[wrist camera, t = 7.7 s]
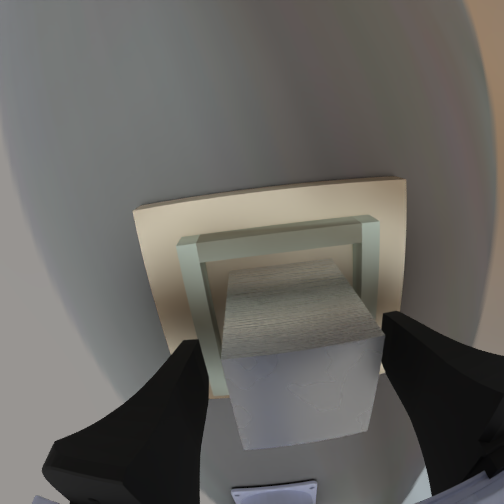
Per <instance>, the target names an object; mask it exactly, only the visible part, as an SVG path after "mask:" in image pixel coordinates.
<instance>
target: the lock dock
mask: <svg viewBox="0 0 504 504" xmlns="http://www.w3.org/2000/svg"><path fill="white" fill-rule="evenodd" d="M133 215H134V220H135V225H136V229H137V234H138V238H139V243H140V247H141V251H142V255H143V259H144V264H145V268H146V271H147V275H148V279H149V283H150V287H151V290H152V294H153V298H154V301H155V305H156V308H157V311H158V315H159V318H160V322H161V325H162V328H163V331H164V335H165V338H166V341H167V344H168V347H169V350H170V353H171V354H172V353H173V352H174V351H175V349H176V348H177V347H178V346H179V345H180V343H181V342H182V341H183V340H191V339H199V342H200V346H201V350H202V354H203V357H204V361H205V365H206V368H207V372H208V375H209V399H218V398H230V396H229V392H228V388H227V384H226V380H225V375H224V371H223V367H222V363H221V352H222V341H223V330H224V319H225V309H226V299H227V289H228V279H229V271H232V270H241V269H249V268H257V267H266V266H274V265H282V264H290V263H298V262H306V261H314V260H322V259H329V258H331V259H332V260H333V261H334V263H335V264H336V265H337V267H338V268H339V270H340V271H341V272H342V274H343V275H344V276H345V278H346V279H347V281H348V282H349V283H350V285H351V286H352V288H353V289H354V291H355V292H356V293H357V295H358V296H359V298H360V299H361V301H362V302H363V303H364V305H365V306H366V308H367V309H368V311H369V312H370V314H371V315H372V317H373V318H374V319H375V321H376V322H377V324H378V325H379V327H380V328H381V326H382V317H383V313H387V312H391V311H399V312H400V306H401V297H402V287H403V276H404V262H405V244H406V179H403V178H399V177H395V176H388V177H371V178H356V179H343V180H330V181H319V182H308V183H298V184H288V185H279V186H270V187H261V188H253V189H245V190H237V191H230V192H222V193H215V194H208V195H201V196H195V197H188V198H182V199H176V200H170V201H164V202H158V203H152V204H146V205H141V206H139V207H138V208H136V209H135V210H133ZM382 373H385V370H384V368H383V365H382V362H381V366H380V372H379V374H382Z"/></svg>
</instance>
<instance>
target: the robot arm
mask: <svg viewBox="0 0 504 504" xmlns="http://www.w3.org/2000/svg"><path fill="white" fill-rule="evenodd" d="M381 330H382V331H383V333H384V334H385V340H384V347H383V354H382V360H381V362H382V365H383V368H384V370H385V373H386V375H387V376H388V378H389V380H390V382H391V384H392V386H393V387H394V389H395V391H396V393H397V395H398V396H399V398H400V400H401V402H402V404H403V405H404V407H405V409H406V411H407V413H408V415H409V417H410V419H411V422H412V424H413V427H414V430H415V432H416V435H417V438H418V441H419V444H420V447H421V450H422V454H423V457H424V461H425V465H426V469H427V473H428V477H429V482H430V488H431V494H432V497H430V498H428V499H425V500H423V501H420V502H418V503H415V504H504V356H501V355H497V354H492V353H488V352H485V351H482V350H478V349H475V348H473V347H470V346H467V345H464V344H462V343H459V342H457V341H455V340H453V339H450V338H448V337H446V336H444V335H442V334H440V333H438V332H436V331H434V330H432V329H430V328H429V327H427V326H425V325H423V324H421V323H419V322H418V321H416V320H414V319H412V318H410V317H409V316H407V315H405V314H403V313H401V312H399V311H391V312H387V313H383V317H382V326H381ZM208 400H209V375H208V372H207V368H206V365H205V361H204V357H203V354H202V350H201V346H200V342H199V339H191V340H183V341H182V342H181V343H180V345H179V346H178V347H177V348H176V349H175V351H174V352H173V353H172V354H171V356H170V357H169V358H168V359H167V361H166V362H165V363H164V364H163V365H162V367H161V368H160V369H159V370H158V371H157V372H156V374H155V375H154V376H153V377H152V378H151V379H150V380H149V381H148V382H147V383H146V384H145V385H144V386H143V387H142V388H141V389H140V390H139V391H138V392H137V393H136V394H135V395H134V396H132V397H131V398H130V399H129V400H128V401H126V402H125V403H124V404H123V405H121V406H120V407H119V408H117V409H116V410H114V411H113V412H111V413H110V414H108V415H107V416H106V417H104V418H103V419H101V420H99V421H97V422H96V423H94V424H92V425H91V426H89V427H87V428H85V429H83V430H81V431H79V432H76V433H74V434H72V435H69V436H67V437H65V438H62V439H60V440H57V441H55V442H54V444H53V446H52V448H51V450H50V452H49V455H48V457H47V459H46V461H45V463H44V465H43V468H42V473H43V475H44V477H45V478H46V480H47V481H48V482H49V483H50V484H51V485H52V486H53V487H54V488H55V489H56V490H58V491H59V492H60V493H61V494H62V495H63V496H64V497H66V498H67V499H68V500H69V501H70V504H200V496H199V493H200V452H201V443H202V437H203V431H204V425H205V419H206V413H207V407H208ZM316 493H317V481H307V482H301V483H294V484H286V485H278V486H268V487H256V488H238V489H232V490H231V494H232V497H233V499H234V501H235V503H236V504H315V502H316ZM32 504H59V503H57V502H54V501H51V500H48V499H46V498H43V497H40V496H35V497H34V500H33V502H32Z"/></svg>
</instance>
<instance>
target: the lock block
mask: <svg viewBox="0 0 504 504" xmlns="http://www.w3.org/2000/svg"><path fill="white" fill-rule="evenodd" d="M384 340H385V334H384V333H383V331H382V330H381V328H380V327H379V325H378V324H377V322H376V321H375V319H374V318H373V317H372V315H371V314H370V312H369V311H368V309H367V308H366V306H365V305H364V303H363V302H362V301H361V299H360V298H359V296H358V295H357V293H356V292H355V291H354V289H353V288H352V286H351V285H350V283H349V282H348V281H347V279H346V278H345V276H344V275H343V274H342V272H341V271H340V270H339V268H338V267H337V265H336V264H335V263H334V261H333V260H332V259H331V258H329V259H322V260H314V261H306V262H298V263H290V264H282V265H274V266H266V267H257V268H249V269H241V270H232V271H229V279H228V289H227V299H226V309H225V319H224V330H223V341H222V352H221V363H222V367H223V371H224V375H225V380H226V384H227V388H228V392H229V396H230V400H231V404H232V408H233V412H234V415H235V419H236V423H237V427H238V431H239V434H240V438H241V442H242V445H243V449H244V450H254V449H265V448H275V447H283V446H291V445H298V444H305V443H311V442H317V441H322V440H328V439H333V438H338V437H343V436H347V435H352V434H356V433H360V432H364V431H367V429H368V425H369V421H370V417H371V412H372V408H373V403H374V398H375V393H376V388H377V383H378V378H379V372H380V366H381V360H382V354H383V347H384Z"/></svg>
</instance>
